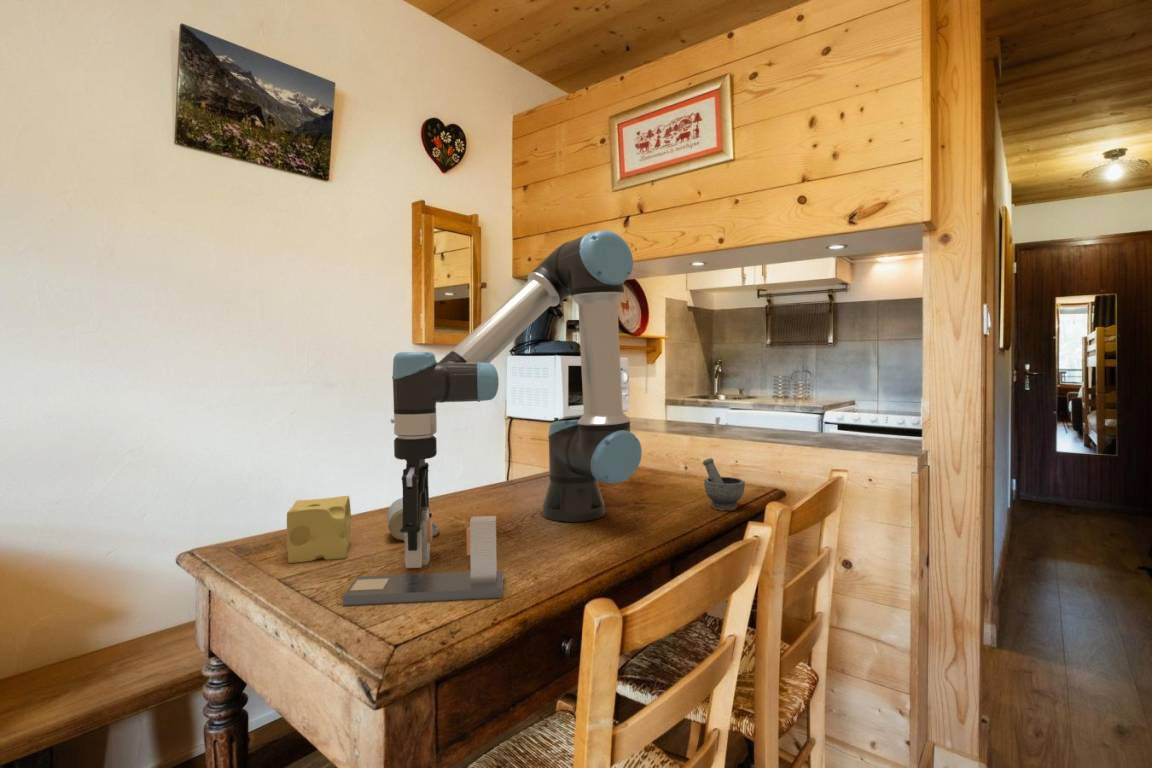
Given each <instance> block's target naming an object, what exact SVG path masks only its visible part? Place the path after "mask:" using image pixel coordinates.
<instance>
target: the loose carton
mask: <svg viewBox="0 0 1152 768" xmlns="http://www.w3.org/2000/svg"><path fill="white" fill-rule="evenodd" d="M429 508H430V506H429V507H421V513H420V530H421V531H422V566H428V564H429V562H430V559H431V556H430V555H431V553H430V552H431V551H430V549H431V548H430V543H432V541H433V536H432V522H433V517H432V518H429V513H430V511H429ZM403 543H404V566H405V567H406V547H405V533H404V541H403Z"/></svg>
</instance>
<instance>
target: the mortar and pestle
mask: <svg viewBox="0 0 1152 768" xmlns="http://www.w3.org/2000/svg"><path fill="white" fill-rule="evenodd" d="M714 462H715V460H714V458H707V459H704V460H703V461H702V464H703V466H704V467H705V470H706V472H707V474H708V477H707V478H705V479H704V482H703V483H704V491H705V493H706V495H707V498H709V499H710V500H711V507H712V506H713V507H715V508H719V509H726V510H730V511H736V510H737V509H738V504H737V502H738V501H739V500H740V499H741V498H742V497H743V495H744V493H745V486H746V485H745V484H746V481H745V480H744V479H742V478H737V477H729V476H721V475H720V473H719V471H718V469H717V466H716V465H715V463H714ZM736 508H737V509H736ZM735 509H736V510H735Z"/></svg>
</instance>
